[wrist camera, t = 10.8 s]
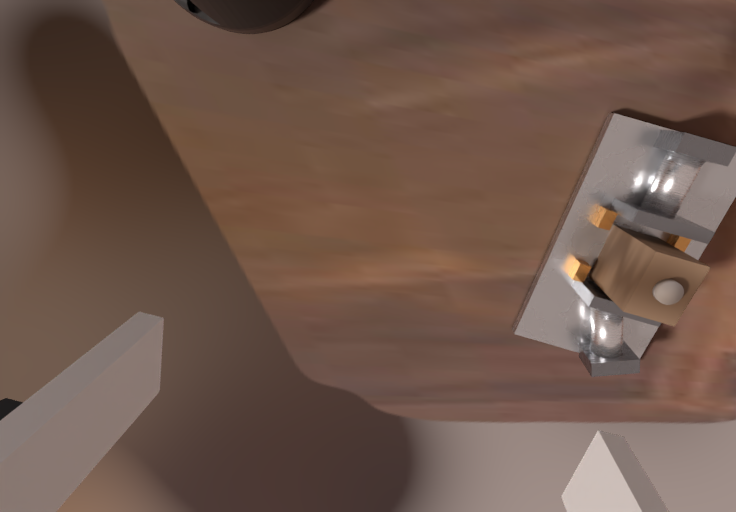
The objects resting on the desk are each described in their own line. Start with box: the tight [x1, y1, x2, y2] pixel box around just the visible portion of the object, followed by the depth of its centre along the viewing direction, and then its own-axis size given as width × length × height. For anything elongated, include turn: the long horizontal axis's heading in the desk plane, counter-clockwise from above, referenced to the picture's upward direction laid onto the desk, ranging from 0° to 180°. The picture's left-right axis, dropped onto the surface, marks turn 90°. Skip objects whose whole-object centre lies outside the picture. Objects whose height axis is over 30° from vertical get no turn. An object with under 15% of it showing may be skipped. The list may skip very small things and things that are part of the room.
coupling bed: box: [512, 113, 736, 359], centre depth 36 cm, size 21×12×5 cm, turn 165°
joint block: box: [589, 225, 711, 326], centre depth 34 cm, size 5×4×8 cm
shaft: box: [579, 307, 640, 377], centre depth 39 cm, size 6×4×3 cm
